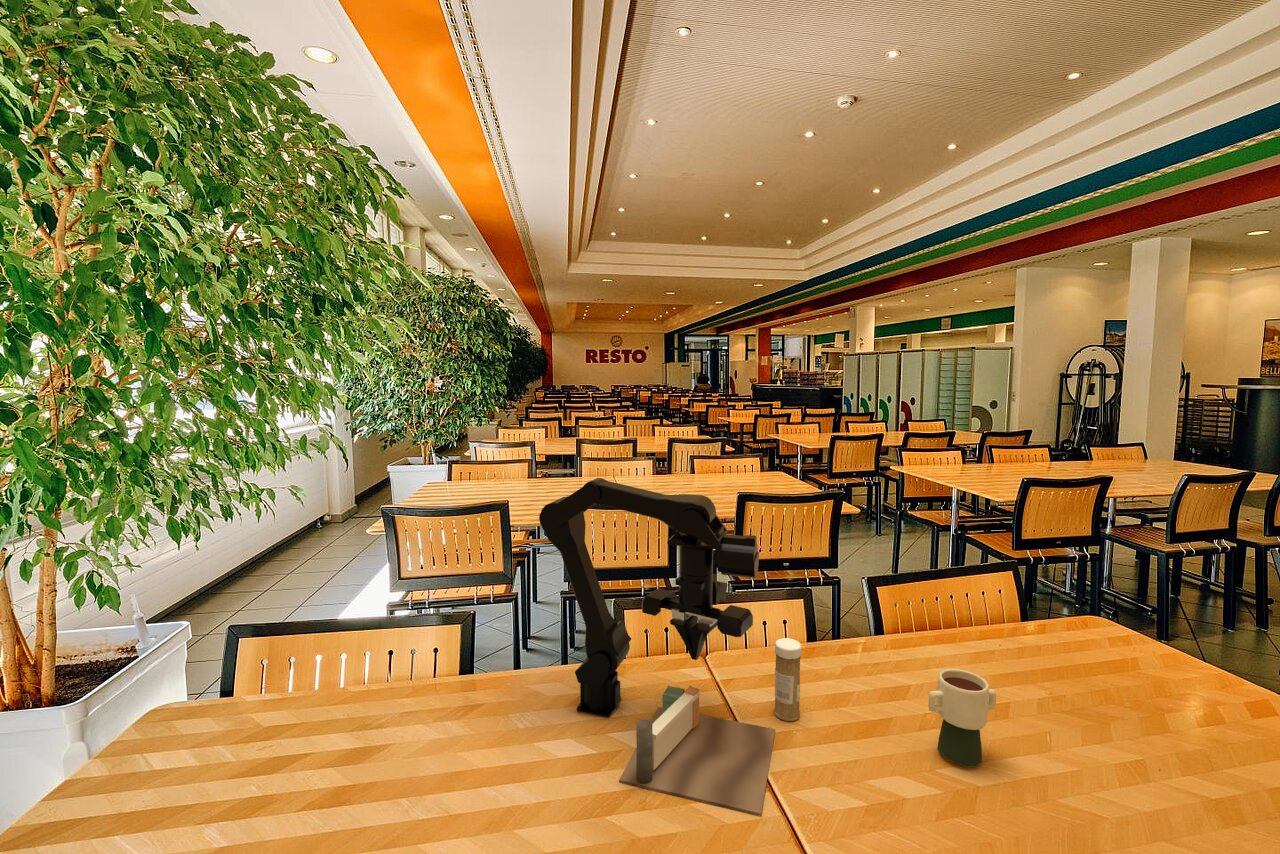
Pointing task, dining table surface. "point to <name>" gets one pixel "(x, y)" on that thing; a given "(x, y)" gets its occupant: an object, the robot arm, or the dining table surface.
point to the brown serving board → (706, 761)
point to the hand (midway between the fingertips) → (695, 658)
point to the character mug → (962, 714)
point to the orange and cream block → (674, 725)
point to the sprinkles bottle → (787, 679)
